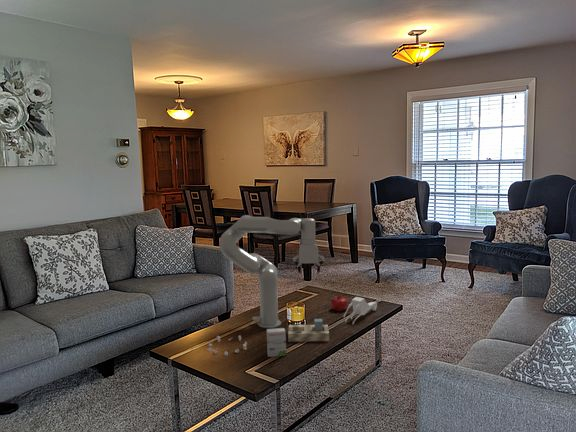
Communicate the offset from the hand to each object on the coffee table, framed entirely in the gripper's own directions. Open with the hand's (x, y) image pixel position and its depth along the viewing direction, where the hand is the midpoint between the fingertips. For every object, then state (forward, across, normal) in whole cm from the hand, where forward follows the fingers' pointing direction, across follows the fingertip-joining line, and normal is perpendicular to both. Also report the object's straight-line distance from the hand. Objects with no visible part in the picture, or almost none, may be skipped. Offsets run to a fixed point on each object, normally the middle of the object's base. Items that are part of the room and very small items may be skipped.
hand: (309, 273), depth 246 cm
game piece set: (+29, -40, -30) cm, 58 cm away
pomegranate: (+29, +18, +24) cm, 41 cm away
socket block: (+28, -1, -18) cm, 34 cm away
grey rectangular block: (+28, +4, -18) cm, 33 cm away
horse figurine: (+29, +30, +11) cm, 43 cm away
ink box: (+28, -16, -39) cm, 51 cm away
